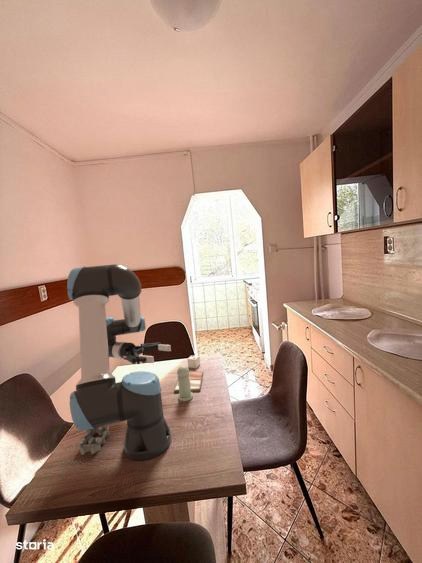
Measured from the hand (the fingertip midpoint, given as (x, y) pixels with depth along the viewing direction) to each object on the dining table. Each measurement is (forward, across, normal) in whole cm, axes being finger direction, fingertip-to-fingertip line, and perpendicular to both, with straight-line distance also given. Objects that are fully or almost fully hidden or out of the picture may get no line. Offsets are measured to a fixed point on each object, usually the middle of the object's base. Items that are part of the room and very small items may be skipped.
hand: (162, 353), depth 116 cm
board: (+6, -12, -19) cm, 23 cm away
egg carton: (-7, +34, -19) cm, 40 cm away
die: (-1, -30, -19) cm, 36 cm away
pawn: (+10, 0, -19) cm, 21 cm away
